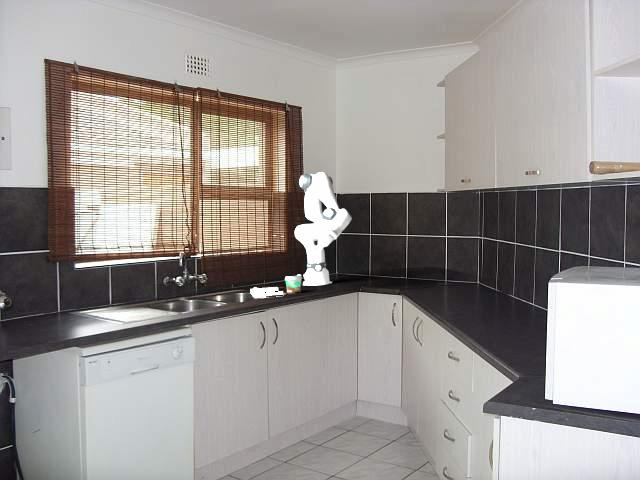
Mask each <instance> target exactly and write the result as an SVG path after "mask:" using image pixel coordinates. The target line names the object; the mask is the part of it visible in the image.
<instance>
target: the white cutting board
mask: <svg viewBox="0 0 640 480" xmlns="http://www.w3.org/2000/svg"><path fill="white" fill-rule="evenodd" d="M275 291H278V292H275ZM265 292H266V293H265ZM250 294H251V295H252V297H253V298H254V299H259V298H262V297H263V298H267V297H266V296H272V295H283V296H284V291H283V290H282V291H279V287H277V286H275V287H274V286H273V287H262V288H258V287H256V286H255V287H253V288H250Z"/></svg>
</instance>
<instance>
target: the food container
mask: <svg viewBox="0 0 640 480" xmlns="http://www.w3.org/2000/svg"><path fill="white" fill-rule="evenodd" d="M302 279H303V277H302V274H297V275H294V276H293V275H292V276H285V278H284V281H285V284H286V293H287V294H296V293H295V292H299V293H301V291H302V290H301V289H302Z"/></svg>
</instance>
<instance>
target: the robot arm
mask: <svg viewBox="0 0 640 480" xmlns="http://www.w3.org/2000/svg"><path fill="white" fill-rule="evenodd" d="M333 182H334V180H333V178H332V177H331V176H329V175H328V174H327V172H323V171H321V172H320V171H319V172H317V173H316V174H314V173H303V174H302V175H300V178H299V187H300V188H301V189H302V190H305V193H304V194H305V195H304V214H305V218H306V219H307V220H309V221H311V222H313V223H304V224H300V225H297V226H296V228H295V230H294V237H295V239H296V240H298V242H300V243H301V244H302V245H303V246H304V248H305V250H306V255H307V256H306V257H307V264H306V268H307V269H306V272H305V273H304V274H303V278H304V281H303V282H302V286H324V285H330V284H333V281H330V274H329V273H330V272H329V270H328V269H327V268H326V267H327V262H326V255H325V254H326V253H325V249H324V248H326V247H328V246H330V244H331V243H332V242H333V241H335V240H337V239H338V237H339V236H340V235H341V234H342V232H343V231H344V230H345V229H346V228H347V227H348V225H349V224H350V223H351V221H352V219H353V216H352V215H351V213H350V212H349V211H348V210H347V209H345V208H341V209H340V207H339V204H338V201H337V198H336V193H335V190H334V187H333V184H334V183H333ZM322 203H323V204H324V205H325V206H326V208H325V209H324V210H323V208H322ZM315 242H317V245H316V243H315Z"/></svg>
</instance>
